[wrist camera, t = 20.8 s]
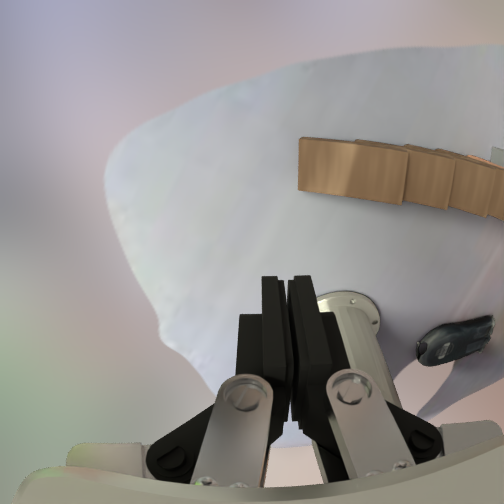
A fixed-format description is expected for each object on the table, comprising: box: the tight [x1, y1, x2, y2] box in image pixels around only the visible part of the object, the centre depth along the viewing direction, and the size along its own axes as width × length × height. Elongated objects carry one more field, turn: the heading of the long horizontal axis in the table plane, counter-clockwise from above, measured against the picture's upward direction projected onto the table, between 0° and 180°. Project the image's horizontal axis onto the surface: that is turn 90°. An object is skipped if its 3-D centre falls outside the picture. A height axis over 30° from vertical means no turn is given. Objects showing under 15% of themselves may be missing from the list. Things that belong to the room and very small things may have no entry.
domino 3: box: [404, 144, 496, 218], centre depth 25 cm, size 2×5×10 cm
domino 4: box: [435, 149, 504, 221], centre depth 25 cm, size 2×5×10 cm
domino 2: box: [355, 139, 456, 210], centre depth 26 cm, size 2×5×10 cm
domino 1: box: [298, 137, 408, 205], centre depth 26 cm, size 2×5×10 cm
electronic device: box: [416, 315, 495, 366], centre depth 41 cm, size 9×6×15 cm
